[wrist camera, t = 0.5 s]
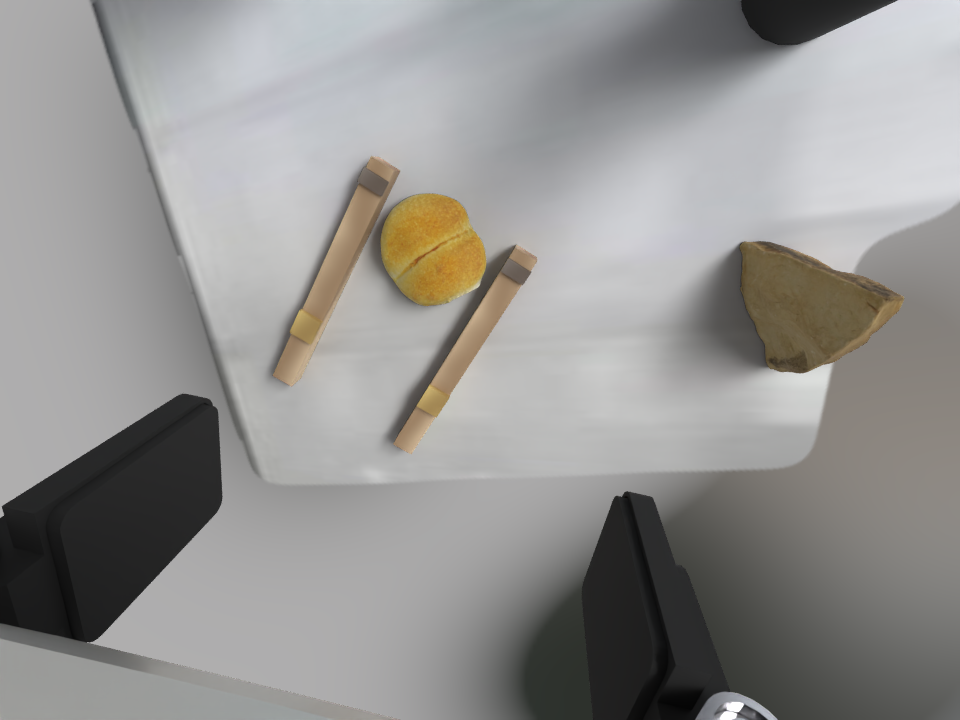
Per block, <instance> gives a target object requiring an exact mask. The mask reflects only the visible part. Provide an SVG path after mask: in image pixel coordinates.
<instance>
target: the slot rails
mask: <svg viewBox="0 0 960 720" xmlns="http://www.w3.org/2000/svg"><path fill="white" fill-rule="evenodd" d="M399 172H400V170H398V169H397V168H395V167H394V166H392V165H390V164H389V163H387V162H386V161H384V160H383V159H381V158H379V157H372V156H371V157H370V160H369V162H368V164H367V166H366V167H363V170H362V172H361V174H360V176H359V179H358V181H357V182H359V184H358V186H357V189H356V191H355V193H354V195H353V198H352V200H351V202H350V204H349V206H348V209H347V211H346V213H345V215H344V218H343V220H342V222H341V224H340V227H339V229H338V231H337V233H336V235H335V238H334V240H333V242H332V244H331V247H330V249H329V251H328V253H327V256H326V258H325V260H324V262H323V264H322V267H321V269H320V271H319V273H318V276H317V278H316V280H315V282H314V284H313V287H312V289H311V291H310V293H309V296H308V298H307V300H306V302H305V305H304V307H303V309H301V310H299V312H298V314H297V317H296V319H295V321H294V323H293V326H292V328H291V330H290V332H289V333H291V336H290V338H289V340H288V342H287V345H286V347H285V349H284V351H283V354H282V356H281V358H280V360H279V362H278V365H277V367H276V369H275V371H274V374H273V376H274V377H276V378H277V379H279V380H281V381H283V382H284V383H286V384H288V385H290V386H291V387H292V386H293V385H294V384H295V383H296V382H297V381H298V380H300V379H301V377H302V374H303V372H304V370H305V368H306V366H307V364H308V362H309V360H310V358H311V356H312V354H313V352H314V349H315V347H316V345H317V343H318V341H319V339H320V337H321V335H322V333H323V331H324V329H325V327H326V324H327V322H328V320H329V318H330V316H331V314H332V312H333V310H334V308H335V306H336V304H337V302H338V299H339V297H340V295H341V293H342V291H343V289H344V287H345V285H346V283H347V281H348V279H349V277H350V274H351V272H352V270H353V268H354V266H355V264H356V262H357V260H358V258H359V256H360V254H361V252H362V250H363V247H364V245H365V243H366V241H367V239H368V237H369V235H370V233H371V231H372V229H373V227H374V225H375V222H376V220H377V218H378V216H379V214H380V212H381V210H382V208H383V206H384V204H385V202H386V200H387V197H388V195H389V193H390V191H391V189H392V187H393V185H394V183H395V181H396V179H397V177H398V175H399ZM536 262H537V257H535V256H534V255H532V254H530V253H529V252H527V251H526V250H524V249H523V248H521V247H519V246H518V245H516V246H515V248H514V250H513V251H512V253H511V254H510V256H509V258H508V259H507V261H506V262H505V264H504V266H503V267H502V269H501V270H500V272H499V274H498V275H497V277H496V278H495V280H494V282H493V283H492V285H491V286H490V288H489V290H488V291H487V293H486V295H485V296H484V298H483V299H482V301H481V303H480V304H479V306H478V307H477V309H476V311H475V312H474V314H473V315H472V317H471V319H470V320H469V322H468V323H467V325H466V327H465V328H464V330H463V331H462V333H461V335H460V336H459V338H458V339H457V341H456V343H455V344H454V346H453V347H452V349H451V351H450V352H449V354H448V356H447V357H446V359H445V360H444V362H443V364H442V365H441V367H440V368H439V370H438V372H437V373H436V375H435V376H434V378H433V380H432V381H431V383H430V384H429V386H428V388H427V389H426V391H425V392H424V394H423V396H422V397H421V399H420V400H419V402H418V404H417V405H416V407H415V408H414V410H413V412H412V413H411V415H410V417H409V418H408V420H407V421H406V423H405V425H404V426H403V428H402V429H401V431H400V433H399V434H398V436H397V438H396V440H395V442H394V445H395V446H397V447H399V448H401V449H403V450H404V451H406V452H408V453H410V454H412V452H413V451H414V449H415V448H416V446H417V445H418V443H419V442H420V440H421V438H422V437H423V435H424V434H425V432H426V431H427V429H428V428H429V426H430V425H431V423H432V422H433V420H434V419H435V417H437V416H438V414H439V413H440V411H441V410H442V408H443V407H444V405H445V404H446V402H447V401H448V399H449V397H450V394H451V392H452V391H453V389H454V388H455V386H456V385H457V383H458V382H459V380H460V379H461V377H462V376H463V374H464V373H465V371H466V369H467V368H468V366H469V365H470V363H471V362H472V360H473V359H474V357H475V356H476V354H477V353H478V351H479V350H480V348H481V346H482V345H483V343H484V342H485V340H486V339H487V337H488V336H489V334H490V333H491V331H492V330H493V328H494V327H495V325H496V323H497V322H498V320H499V319H500V317H501V316H502V314H503V313H504V311H505V310H506V308H507V307H508V305H509V304H510V302H511V300H512V299H513V297H514V296H515V294H516V293H517V291H518V290H519V288H520V287H521V285H523V284H524V283H525V281H526V280H527V278H528V276H529V275H530V273H531V270H532V268H533V267H534V265H535V264H536Z"/></svg>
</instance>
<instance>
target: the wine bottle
mask: <svg viewBox="0 0 960 720" xmlns="http://www.w3.org/2000/svg"><path fill="white" fill-rule="evenodd" d="M895 1H897V0H741V3H742V10H743V12H744V15H745V17H746V19H747V21H748V23H749V26H750V27H751V28H752V29H753V30H754V31H755V32H756V33H757V34H758V35H759V36H760V37H761V38H762V39H765V40H768V41H770V42H773V43H776V44H778V45H792V44H800V43H803V42H806V41H809V40H812V39H815V38H817V37H820V36H822V35H824V34H826V33H828V32H830V31H832V30H835V29H837V28H839V27H841V26H843V25H845V24H848V23H850V22H852V21H854V20H856V19H858V18H861V17H863V16H865V15H867V14H869V13H871V12H874V11H876V10H878V9H880V8H882V7H884V6H887V5H889V4H891V3H893V2H895Z"/></svg>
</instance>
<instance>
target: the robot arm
mask: <svg viewBox="0 0 960 720" xmlns="http://www.w3.org/2000/svg"><path fill="white" fill-rule="evenodd" d="M218 422H219V421H218V410H217V408H216V407H214V406H213V405H212V402H211V401H210V400H209V399H207V398H203V397H198V396H193V395H189V394H181V395H178V396H176V397H175V398H173V399H172V400H170V401H169V402H167V403H165V404H164V405H162V406H161V407H159V408H157V409H156V410H154V411H153V412H151V413H149V414H148V415H146V416H145V417H143V418H142V419H140V420H139V421H137V422H135V423H134V424H132V425H130V426H129V427H127V428H126V429H124V430H122V431H121V432H119V433H118V434H116V435H115V436H113V437H111V438H110V439H108V440H106V441H105V442H103V443H102V444H100V445H99V446H97V447H96V448H94V449H92V450H91V451H89V452H87V453H86V454H84V455H83V456H81V457H80V458H78V459H76V460H75V461H73V462H72V463H70V464H68V465H67V466H65V467H64V468H62V469H60V470H59V471H57V472H56V473H54V474H52V475H51V476H49V477H48V478H46V479H44V480H43V481H41V482H40V483H38V484H37V485H35V486H33V487H32V488H30V489H29V490H27V491H26V492H24V493H22V494H21V495H19V496H18V497H16V498H15V499H13V500H11V501H10V502H8V503H6V504H5V505H3V506H2V509H3V512H4V516H3V517H1V518H0V720H399V719H395V718H391V717H387V716H383V715H379V714H375V713H371V712H368V711H363V710H360V709H356V708H352V707H348V706H344V705H340V704H336V703H332V702H328V701H323V700H320V699H315V698H311V697H307V696H303V695H299V694H295V693H291V692H287V691H283V690H279V689H275V688H271V687H267V686H263V685H259V684H255V683H251V682H246V681H242V680H239V679H235V678H230V677H226V676H222V675H218V674H214V673H210V672H206V671H202V670H197V669H194V668H190V667H186V666H181V665H177V664H173V663H169V662H164V661H161V660H156V659H152V658H148V657H144V656H140V655H136V654H131V653H127V652H123V651H118V650H115V649H111V648H107V647H102V646H98V645H94V644H90V643H87V642H93V641H95V640H96V639H98V638H99V637H100V636H101V635H102V634H103V633H104V632H105V631H106V630H107V629H108V628H109V627H110V626H111V625H112V624H113V622H114V621H115V620H116V619H117V618H118V617H119V616H120V615H121V614H122V613H123V612H124V611H125V610H126V609H127V608H128V607H129V605H130V604H131V603H132V602H133V601H134V600H135V599H136V598H137V597H138V596H139V595H140V594H141V593H142V592H143V591H144V589H145V588H146V587H147V586H148V585H149V584H150V583H151V582H152V581H153V580H154V579H155V578H156V577H157V576H158V575H159V574H160V572H161V571H162V570H163V569H164V568H165V567H166V566H167V565H168V564H169V563H170V562H171V561H172V560H173V559H174V558H175V556H176V555H177V554H178V553H179V552H180V551H181V550H182V549H183V548H184V547H185V546H186V545H187V544H188V543H189V542H190V541H191V539H192V538H193V537H194V536H195V535H196V534H197V533H198V532H199V531H200V530H201V529H202V528H203V527H204V526H205V524H207V522H208V521H209V520H210V519H211V518H212V517H213V516H214V515H215V514H216V513H217V511H218V509H219V507H220V505H221V502H222V482H221V461H220V441H219V423H218ZM582 606H583V617H584V627H585V639H586V649H587V659H588V671H589V681H590V691H591V703H592V713H593V720H777V719H776V718H775V717H774V716H773V715H772V714H771V713H770V712H769V711H768V710H767V709H765V708H764V707H762V706H761V705H760V704H758V703H757V702H755V701H754V700H752V699H750V698H747V697H745V696H743V695H740V694H738V693H732V692H730V689H729V687H728V684H727V681H726V678H725V676H724V673H723V670H722V667H721V664H720V662H719V659H718V656H717V653H716V651H715V648H714V645H713V642H712V640H711V637H710V634H709V631H708V628H707V626H706V623H705V620H704V617H703V614H702V612H701V609H700V606H699V603H698V601H697V598H696V595H695V592H694V589H693V587H692V584H691V581H690V578H689V576H688V574H687V572H686V570H685V569H684V568H683V567H682V566H680V565H676V564H675V561H674V558H673V556H672V553H671V549H670V547H669V543H668V540H667V537H666V534H665V531H664V529H663V526H662V523H661V520H660V517H659V514H658V511H657V508H656V505H655V502H654V500H653V498H652V497H650V496H646V495H641V494H637V493H632V492H628V491H627V492H625V493H624V494H623V496H622V497H619V496H615V498H614V499H613V502H612V505H611V508H610V510H609V513H608V516H607V518H606V521H605V524H604V527H603V529H602V532H601V535H600V538H599V540H598V543H597V546H596V549H595V552H594V554H593V557H592V560H591V562H590V565H589V568H588V571H587V574H586V576H585V579H584V582H583V587H582Z"/></svg>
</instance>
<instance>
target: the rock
mask: <svg viewBox="0 0 960 720" xmlns="http://www.w3.org/2000/svg"><path fill="white" fill-rule="evenodd" d="M740 250H741V252H742V255H743V260H742V270H743V271H742V275H741V283H742V287H741V288H740V290H741V292H742V294H743V297H744V301H745V306H746V310H747V311H748V312H749V314H750V317H751V319H752V320H754V323H755V325H756V327H757V328H756V331H757V333H758V335H759V336H760V338H761V339H762V340H763V342H764V344H765V354H766V363H767V364H768V367H769V368H770V369H774V370H777V371H779V372H794V373H806V372H809V371H811V370H813V369H815V368H817V367H819V366H821V365H823V364H829V363H832V362H835V361H837V360H838V359H840V358H841V357H842V356H844V355H845V354H847V353H849V352H852V351H853V350H855V349H857V348H859V347H860V346H862V345H864V344H865V343H867V341H868V340H869V338H870V336H871V335H872V334H873V333H874V332H876V331H877V330H879V329H880V328H881V327H882V326H883V325H884V324H885V323H886V322H887V321H888V320H889V319H890V318H891V317H892V316H893V315H894V314H896V313H897V312H898V311H899V309H900V307H901V305H902V303H903V301H904V297H903V296H901V295H899V294H897V293H895V292H893V291H892V290H890V289H889V288H887V287H885V286H883V285H882V284H880V283H878V282H875V281H873V280H870V279H868V278H866V277H863V276H859V275H855V274H852V273H846V272H840V271H836V270H833V269H831V268H830V267H829V266H827V265H825V264H824V263H822V262H820V261H819V260H817V259H815V258H813V257H811V256H808V255H805V254H803V253H800V252H798V251H795V250H793V249H790V248H787V247H784V246H781V245H777V244H774V243H771V242H761V241H758V242H743V243H742V244H741V245H740Z"/></svg>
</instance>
